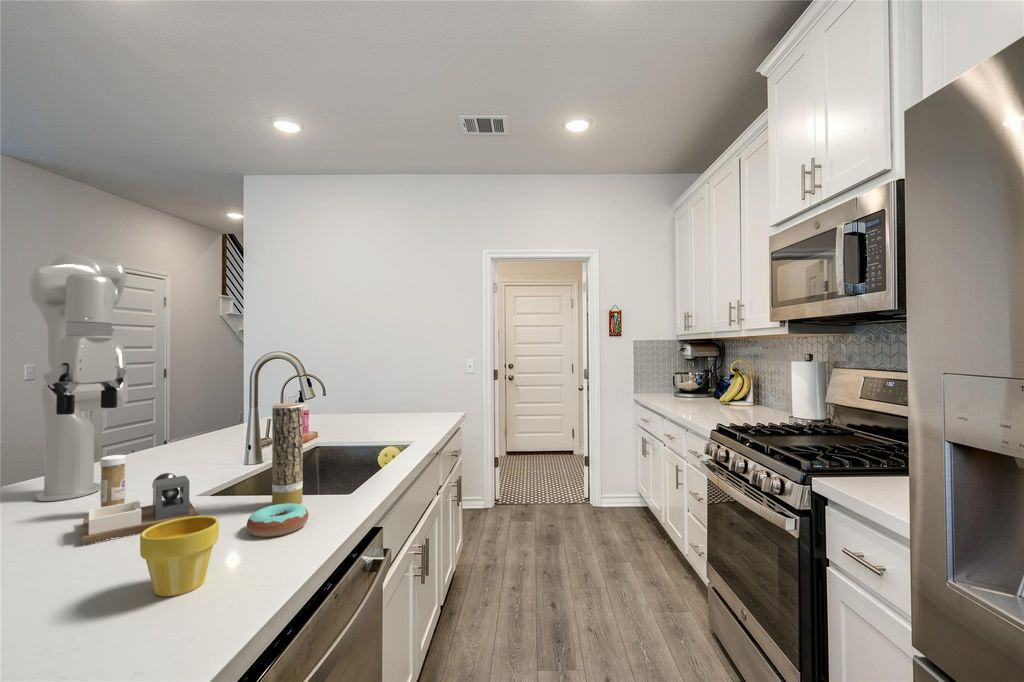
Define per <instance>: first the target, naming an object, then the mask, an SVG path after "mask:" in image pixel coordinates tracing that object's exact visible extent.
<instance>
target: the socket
mask: <svg viewBox="0 0 1024 682" xmlns="http://www.w3.org/2000/svg"><path fill="white" fill-rule="evenodd" d="M141 507H142V506H141V504H140V501H139V500H135V501H130V502H124V503H123V504H117V505H112V506H106V507H101V506H100V507H96V508H91V509H88V517H89V535H92V534H96V533H101V532H106V531H111V530H116V529H120V528H125V527H130V526H135V525H139V524H141Z"/></svg>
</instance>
